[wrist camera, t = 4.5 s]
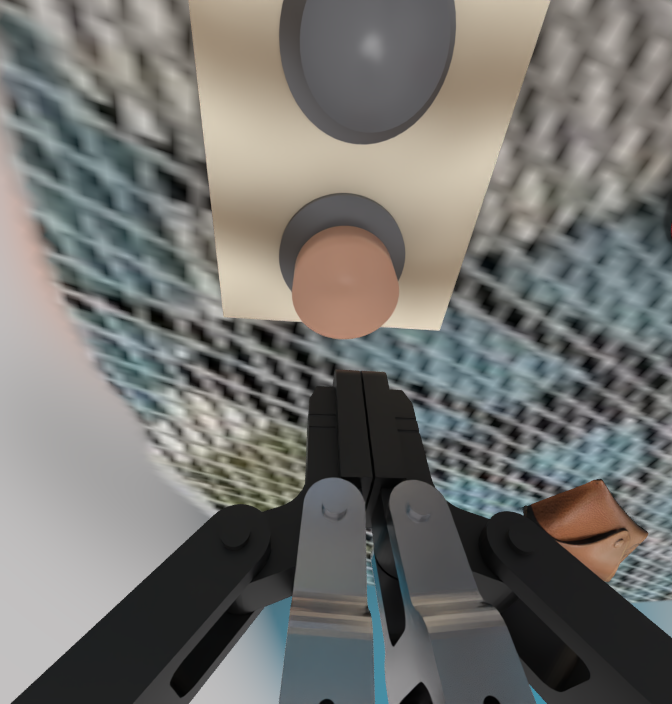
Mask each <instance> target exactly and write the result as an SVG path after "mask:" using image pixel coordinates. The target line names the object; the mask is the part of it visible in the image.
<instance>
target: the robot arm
mask: <svg viewBox="0 0 672 704" xmlns="http://www.w3.org/2000/svg"><path fill="white" fill-rule="evenodd" d="M366 528H372V534H373V543H374V544H373V547H372V551H371V564H372V570H373V576H374V582H375V588H376V594H377V600H378V606H379V612H380V618H381V624H382V630H383V636H384V642H385V679H386V687H387V694H388V701H389V704H536V701H535V699H534V696H533V694H532V691H531V688H530V686H529V684H530V685H531V686H532V688H533V689H534V690H535V691H536V692H537V693H538V694H539V695H540V696H541V697H542V699H543V700H544V701H545V702H546V703H547V704H672V638H671V637H670V636H669V635H668V634H666V633H665V632H664V631H663V630H661V629H660V628H659V627H658V626H657V625H656V624H654V623H653V622H652V621H651V620H650V619H648V618H647V617H646V616H645V615H644V614H643V613H641V612H640V611H639V610H638V609H636V608H635V607H634V606H633V605H632V604H631V603H629V602H628V601H627V600H626V599H625V598H623V597H622V596H621V595H620V594H619V593H617V592H616V591H615V590H614V589H613V588H612V587H610V586H609V585H608V584H607V583H606V582H604V581H603V580H602V579H601V578H600V577H598V576H597V575H596V574H595V573H594V572H592V571H591V570H590V569H589V568H588V567H587V566H585V565H584V564H583V563H582V562H581V561H579V560H578V559H577V558H576V557H575V556H573V555H572V554H571V553H570V552H569V551H567V550H566V549H565V548H564V547H563V546H561V545H560V544H559V543H558V542H557V541H556V540H554V539H553V538H552V537H551V536H550V535H548V534H547V533H546V532H545V531H544V530H542V529H541V528H540V527H539V526H538V525H536V524H535V523H534V522H533V521H531V520H530V519H528V518H527V517H525V516H523V515H521V514H518V513H515V512H509V511H504V512H499V513H497V514H495V515H494V516H492V517H491V519H488V518H485V517H482V516H479V515H476V514H473V513H470V512H467V511H464V510H462V509H459V508H457V507H455V506H454V505H452V504H450V503H449V502H448V501H446V500H445V498H444V497H443V495H442V494H441V493H440V492H439V491H438V490H437V489H436V488H435V486H434V484H433V482H432V479H431V475H430V471H429V467H428V463H427V459H426V455H425V451H424V448H423V444H422V440H421V436H420V433H419V428H418V424H417V421H416V416H415V412H414V408H413V405H412V402H411V401H410V400H409V399H408V397H407V396H406V395H405V393H404V392H403V391H402V390H389V385H388V380H387V375H386V373H385V372H374V371H353V370H335V372H334V380H333V387H323V386H317V387H316V389H315V391H314V392H313V394H312V396H311V397H310V399H309V413H308V426H307V448H306V473H305V485H304V487H303V489H302V491H301V492H300V494H299V495H298V496H297V497H296V498H295V499H293V500H292V501H291V502H289V503H287V504H285V505H282V506H280V507H277V508H273V509H270V510H267V511H264V512H261V511H260V510H258V509H257V508H255V507H253V506H249V505H244V504H238V505H232V506H228V507H226V508H224V509H222V510H220V511H218V512H217V513H216V514H215V515H213V516H212V517H211V518H210V519H209V520H208V521H207V522H206V523H205V524H204V525H203V526H202V527H200V529H198V530H197V531H196V532H195V533H194V534H193V535H192V536H191V537H190V538H189V539H188V540H186V541H185V543H183V544H182V545H181V546H180V547H179V548H178V549H177V550H176V551H175V552H174V553H173V554H172V555H170V556H169V557H168V558H167V559H166V560H165V561H164V562H163V563H162V564H161V565H160V566H159V567H157V568H156V569H155V570H154V571H153V572H152V573H151V574H150V575H149V576H148V577H147V578H146V579H144V580H143V581H142V582H141V583H140V584H139V585H138V586H137V587H136V588H135V589H134V590H133V591H132V592H130V593H129V594H128V595H127V596H126V597H125V598H124V599H123V600H122V601H121V602H120V603H119V604H117V605H116V606H115V607H114V608H113V609H112V610H111V611H110V612H109V613H108V614H107V615H106V616H105V617H104V618H102V619H101V620H100V621H99V622H98V623H97V624H96V625H95V626H94V627H93V628H92V629H91V630H89V631H88V632H87V633H86V634H85V635H84V636H83V637H82V638H81V639H80V640H79V641H78V642H76V643H75V645H73V646H72V647H71V648H70V649H69V650H68V651H67V652H66V653H65V654H64V655H63V656H61V657H60V658H59V659H58V660H57V661H56V662H55V663H54V664H53V665H52V666H51V667H50V668H48V669H47V670H46V671H45V672H44V673H43V674H42V675H41V676H40V677H39V678H38V679H37V680H36V681H34V682H33V683H32V684H31V685H30V686H29V687H28V688H27V689H26V690H25V691H24V692H23V693H22V694H21V695H19V696H18V697H17V698H16V699H15V700H14V701H13V702H12V703H11V704H189V703H190V701H191V700H192V699H193V697H194V696H195V695H196V694H197V693H198V691H199V690H200V689H201V687H202V686H203V685H204V684H205V682H206V681H207V680H208V679H209V677H210V676H211V675H212V673H213V672H214V671H215V669H216V668H217V667H218V666H219V665H220V663H221V662H222V661H223V659H224V658H225V657H226V656H227V654H228V653H229V652H230V651H231V649H232V648H233V647H234V645H235V644H236V643H237V642H238V640H239V639H240V638H241V637H242V635H243V634H244V633H245V632H246V630H247V629H248V628H249V626H250V625H251V624H252V623H253V621H254V620H255V619H256V618H257V616H258V615H259V614H260V612H261V611H262V610H263V609H264V607H265V606H268V605H270V604H273V603H275V602H278V601H280V600H283V599H285V598H288V597H290V596H292V603H291V609H290V616H289V624H288V632H287V640H286V648H285V657H284V665H283V673H282V681H281V690H280V698H279V704H375V695H374V657H373V656H374V655H373V628H372V619H371V613H370V611H369V609H368V605H367V575H366Z"/></svg>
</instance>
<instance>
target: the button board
mask: <svg viewBox="0 0 672 704" xmlns="http://www.w3.org/2000/svg"><path fill="white" fill-rule="evenodd" d="M306 1H307V0H189V9H190V18H191V27H192V36H193V45H194V54H195V63H196V72H197V81H198V90H199V99H200V108H201V117H202V126H203V135H204V144H205V153H206V162H207V171H208V180H209V189H210V198H211V207H212V216H213V225H214V234H215V243H216V252H217V261H218V270H219V279H220V288H221V297H222V306H223V315H224V317H231V318H247V319H263V320H279V321H295V322H302V321H301V319H300V318H299V316H298V315H297V313H296V311H295V308H294V306H293V301H292V287H293V278H294V270H295V263H296V259H297V256H298V254H299V252H300V250H301V248H302V247H303V246H304V244H305V243H306V242H307V241H308V240H309V239H310V238H311V237H313V236H314V235H315V234H317V233H319V232H321V231H322V230H325V229H328V228H331V227H335V226H354V227H358V228H362V229H364V230H367V231H369V232H370V233H372V234H374V235H375V236H376V237H377V238H379V239H380V240H381V242H382V243H383V244H384V245H385V247H386V248H387V250H388V252H389V254H390V258H391V261H392V264H393V267H394V270H395V273H396V276H397V280H398V284H399V298H398V302H397V306H396V308H395V310H394V312H393V314H392V315H391V317H390V318H389V319H388V320H387V321H386V322H385V323H384V324H383V325H382V326H381V327H391V328H407V329H423V330H439V331H440V328H441V325H442V322H443V319H444V316H445V313H446V310H447V307H448V304H449V301H450V298H451V295H452V292H453V289H454V286H455V283H456V280H457V277H458V274H459V271H460V268H461V265H462V262H463V259H464V256H465V253H466V250H467V247H468V244H469V241H470V238H471V235H472V232H473V229H474V226H475V223H476V220H477V217H478V214H479V211H480V209H481V206H482V203H483V200H484V197H485V194H486V191H487V188H488V185H489V182H490V179H491V176H492V173H493V170H494V167H495V164H496V161H497V158H498V155H499V152H500V149H501V146H502V143H503V140H504V137H505V134H506V131H507V128H508V125H509V122H510V119H511V116H512V113H513V110H514V107H515V104H516V101H517V98H518V95H519V92H520V89H521V86H522V83H523V80H524V77H525V75H526V72H527V69H528V66H529V63H530V60H531V57H532V54H533V51H534V48H535V45H536V42H537V39H538V36H539V33H540V30H541V27H542V24H543V21H544V18H545V15H546V12H547V9H548V6H549V3H550V0H447V2H448V7H449V14H450V45H449V50H448V56H447V60H446V64H445V67H444V70H443V73H442V75H441V78H440V80H439V82H438V84H437V86H436V88H435V90H434V92H433V93H432V95H431V96H430V98H429V99H428V101H427V102H426V103H425V104H424V106H423V107H422V108H421V109H420V110H419V111H418V112H417V113H416V114H415V115H414V116H412V117H411V118H410V119H409V120H407V121H406V122H404V123H402V124H401V125H399V126H397V127H394V128H392V129H390V130H386V131H382V132H375V133H366V132H359V131H354V130H352V129H349V128H346V127H344V126H342V125H340V124H339V123H337V122H336V121H335V120H333V119H332V118H331V117H330V116H329V115H328V114H326V113H325V112H324V110H323V109H322V108H321V107H320V105H319V104H318V103H317V101H316V99H315V98H314V96H313V95H312V92H311V90H310V88H309V86H308V84H307V81H306V78H305V75H304V71H303V67H302V62H301V54H300V29H301V21H302V16H303V11H304V8H305V4H306Z"/></svg>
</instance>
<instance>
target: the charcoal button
mask: <svg viewBox="0 0 672 704" xmlns="http://www.w3.org/2000/svg"><path fill="white" fill-rule="evenodd" d="M449 45H450V14H449V7H448V2H447V0H307V1H306V4H305V8H304V11H303V16H302V21H301V29H300V54H301V62H302V67H303V71H304V75H305V78H306V81H307V84H308V86H309V88H310V90H311V92H312V95H313V96H314V98H315V99H316V101H317V103H318V104H319V105H320V107H321V108H322V109H323V110H324V112H325V113H326V114H328V115H329V116H330V117H331V118H332V119H333V120H335V121H336V122H337V123H339V124H340V125H342V126H344V127H346V128H349V129H352V130H354V131H359V132H366V133H375V132H382V131H386V130H390V129H392V128H394V127H397V126H399V125H401V124H402V123H404V122H406V121H407V120H409V119H410V118H411V117H412V116H414V115H415V114H416V113H417V112H418V111H419V110H420V109H421V108H422V107H423V106H424V104H425V103H426V102H427V101H428V99H429V98H430V96H431V95H432V93H433V92H434V90H435V88H436V86H437V84H438V82H439V80H440V78H441V75H442V73H443V70H444V67H445V64H446V60H447V56H448V50H449Z"/></svg>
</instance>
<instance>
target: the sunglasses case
mask: <svg viewBox="0 0 672 704" xmlns="http://www.w3.org/2000/svg"><path fill="white" fill-rule="evenodd" d="M523 513H524V516H525V517H527V518H528V519H530V520H531V521H533V522H534V523H535V524H536V525H538V526H539V527H540V528H541V529H542V530H544V531H545V532H546V533H547V534H548V535H550V536H551V537H552V538H553V539H554V540H556V541H557V542H558V543H559V544H560V545H561V546H563V547H564V548H565V549H566V550H567V551H569V552H570V553H571V554H572V555H573V556H575V557H576V558H577V559H578V560H579V561H581V562H582V563H583V564H584V565H585V566H587V567H588V568H589V569H590V570H591V571H592V572H594V573H595V574H596V575H597V576H598V577H600V578H601V579H602V580H603V581H606V582H609V581H610V580H611V579H612V577H613V576H614V574H615V572H616V571H617V569H618V566H619V564H620V563H621V562H622V561H623V560H624V559H625V558H626V557H627V556H628V555H629V554H630V553H631V552H632V551H633V550H634V549H635V548H636V547H637V546H638V545H639V544H640V543H641V542H643V541H644V539H645V538H646V537H647V536H648V532H647V531H645V530H644V529H642V528H640V527H639V526H638V525H637V524H636V523H634V521H633V520H632V519H631V518H630V517H629V516H628V515H627V514H626V513H625V511H624V510H623V509H622V508H621V507H620V506H619V504H618V503H617V502H616V501H615V500H614V498H613V497H612V495H611V493H610V492H609V490H608V488H607V487H606V485H605V484H604V482H603V481H602V480H601V479H600V480H593V481H591V482H589V483H587V484H585V485H582V486H579V487H576V488H574V489H571V490H568V491H565V492H563V493H560V494H557V495H555V496H552V497H550V498H547V499H544V500H542V501H539V502H536V503H534V504H531V505H529V506H525V507H524V511H523Z"/></svg>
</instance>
